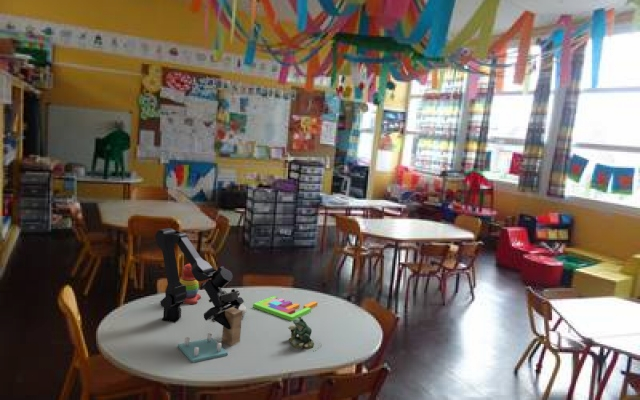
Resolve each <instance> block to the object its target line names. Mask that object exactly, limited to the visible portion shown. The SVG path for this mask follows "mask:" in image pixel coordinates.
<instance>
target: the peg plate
mask: <svg viewBox="0 0 640 400" xmlns="http://www.w3.org/2000/svg"><path fill="white" fill-rule="evenodd" d="M177 347H178V349H179V350H180V351H181V352H182V353H183V354H184V355H185V356H186V358H187V359H188V360H189V361H190V362H191V364H192V363H196V362H201V361H202V362H203V361H206V360H212V359H216V358H220V357H224V356H228V354H229V353H228V351H227V350H226V349H224V348H223V346H222V342H218V341H216V340H215V339H214V338H213V337H212V333H207V335H206V338H205V339H199V340H193V341H190V337H188V336H187V337H184V343H179V344H177Z"/></svg>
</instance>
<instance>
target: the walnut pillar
mask: <svg viewBox="0 0 640 400" xmlns="http://www.w3.org/2000/svg"><path fill="white" fill-rule="evenodd" d="M225 317H226V319H227V321H228V323H229V325H230V327H231V329H230V330H228V329H227V328H226V327H224V326H223V325H222V335H221V343H224V344H226V345H229V346H234V345H235V344H238V343H240V341H241V331H242V330H241V329H242V318H243V316H242V310H239V309H236V308H233V307H232V308H230V309H227V310H225Z"/></svg>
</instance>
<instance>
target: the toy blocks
mask: <svg viewBox="0 0 640 400" xmlns="http://www.w3.org/2000/svg"><path fill="white" fill-rule="evenodd" d="M318 303H319V302H317V301H311V302H308V303H306V304H304V305H303V306H302V309H300V303H293V302H292V301H291V300H287V301H285V298H279V299H278V296H275V295H273V296H271V297H268V298H265V299H263V300H259V301H256V302H255V303H253V304H252V308H254V309H257V310H260V311H262V312H266V313H268V314H271V315H272V316H273V315H274V316H276V317H279V318H282V319H285V320H288V321H291V322H293V320H294V319H297V318H298V317H301V318H302V317H303V316H305V315H307V314H309V312H310V313H312V309H313V307H314V308H315V306H316V307H318ZM295 309H296V310H298V309H300V310H298V311H296V310H295Z"/></svg>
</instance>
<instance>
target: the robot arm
mask: <svg viewBox="0 0 640 400" xmlns="http://www.w3.org/2000/svg"><path fill="white" fill-rule="evenodd" d="M154 236H155V237H154V238H155V240H156V245H157V246H158V248H159V249H160V250H161V251H162V258H163V263H164V264H163V265H164V268H165V269H164V270H165V276H166V280H167V285H166V287H165V291H164V294H165V296H164V297H163V298H162V299H161V300H160V301H159V303H160V307H162V308H163V315H162V318H161V321H162V322H163V321H164V322H173V323H177V322H178V321H179V320H180V319H181V318H182V307H181V305H183V304H185V303H184V300H185V299H186V297H187V295H186V294H187V291H186V286H185V285H182V284H181V282H180V274H179V269H178V262H177V258H176V252H175V247H176V245H177V246H178V247H179V249H180V251H181V252H182V253H183V255H184V257H185V258H186V260H187V262H188V264H189V263H190V264H191V271H192V273H193V275H194V278H195V279H196V280H197V281H198V282H201V283H200V286H199V290H200V291H202V290H204V291H205V292H206V294H207V295H208V298H209V299H208V302H209V303H212V304H213V306H214V307H213V306H211V307H210V308H209V309H208V310H207V311H205V312H204V313H203V318H204V321H206V322H207V321H209V320H211V321H214V322H216V323H218V324H220V325H221V326H222V327H223V326H224V327H226V328H227V329H228V330H230V329H231V327H230V325H229V323H228V321H227V319H226V317H225V311H224V310H227V309H230V308H232V307H233V308H236V309H239V307H240V305H241V304H244V303H245V300H244V299H243V297H241V296H240V293H241V292H240V291H239V289H238V288H237V287H236V288H232V289H231V290H230V292H227V291H226V290H222V288H224V287H225V286H226V285H227V284H229V282H230V281H232V280H233V277H234V276H233V273H232V271H230V270H229V269H228V268H225V266H223V265H222V266H219V267H218V268H217V269H216V268H213V266H212V265H211V264H210V263H209V262H208V261H206V260H205V259H203V258H202V257H201V256H200V253H199V252H198V251H197V250H196V248H195V247H194V245H193V244H192V242H191V240H190V239H189V236H188V234H187V233H186V232H182V231H180V230H176V229H174V228H172V227H169V228H163V229H159V230H157V231H156V233H155V235H154ZM203 281H204V282H203ZM225 307H226V308H225ZM222 311H223V312H222Z"/></svg>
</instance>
